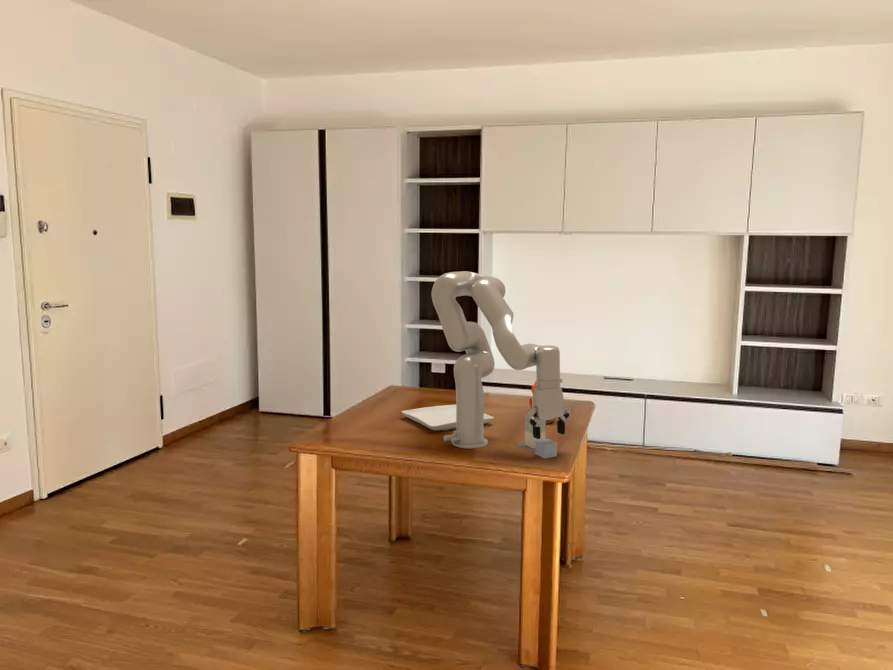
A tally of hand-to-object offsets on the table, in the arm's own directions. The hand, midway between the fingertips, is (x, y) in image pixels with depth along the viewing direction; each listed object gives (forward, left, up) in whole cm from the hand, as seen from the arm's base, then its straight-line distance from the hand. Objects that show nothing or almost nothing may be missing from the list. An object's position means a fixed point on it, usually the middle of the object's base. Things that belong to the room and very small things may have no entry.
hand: (549, 435), depth 227 cm
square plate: (-8, +55, -8) cm, 56 cm away
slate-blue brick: (0, +1, -7) cm, 7 cm away
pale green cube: (+3, +11, -2) cm, 12 cm away
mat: (+3, +11, -7) cm, 14 cm away
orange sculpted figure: (+25, +37, -7) cm, 45 cm away
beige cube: (+3, +11, -7) cm, 13 cm away
